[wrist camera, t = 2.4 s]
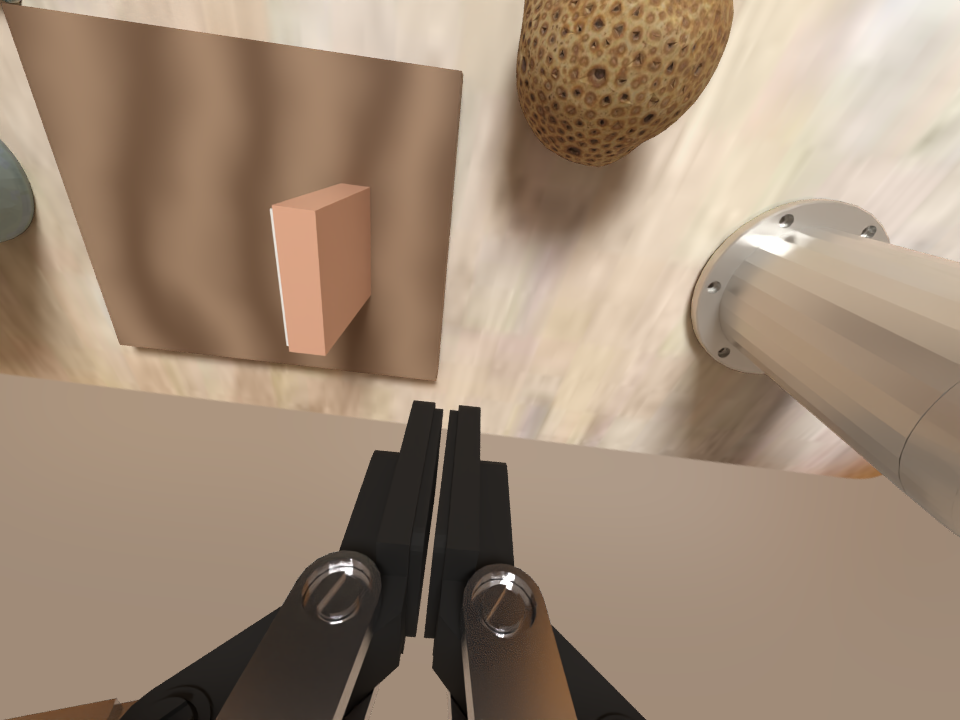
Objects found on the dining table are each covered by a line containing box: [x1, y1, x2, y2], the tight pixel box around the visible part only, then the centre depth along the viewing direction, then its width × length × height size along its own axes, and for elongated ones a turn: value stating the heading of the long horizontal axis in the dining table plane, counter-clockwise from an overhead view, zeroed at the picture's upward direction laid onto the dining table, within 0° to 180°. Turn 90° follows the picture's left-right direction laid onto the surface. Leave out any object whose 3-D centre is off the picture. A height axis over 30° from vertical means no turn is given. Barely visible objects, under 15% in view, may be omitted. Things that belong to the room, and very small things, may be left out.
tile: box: [270, 183, 371, 356], centre depth 23 cm, size 2×7×9 cm, turn 173°
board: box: [1, 3, 463, 381], centre depth 27 cm, size 24×20×2 cm
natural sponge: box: [516, 0, 734, 167], centre depth 19 cm, size 9×9×10 cm
